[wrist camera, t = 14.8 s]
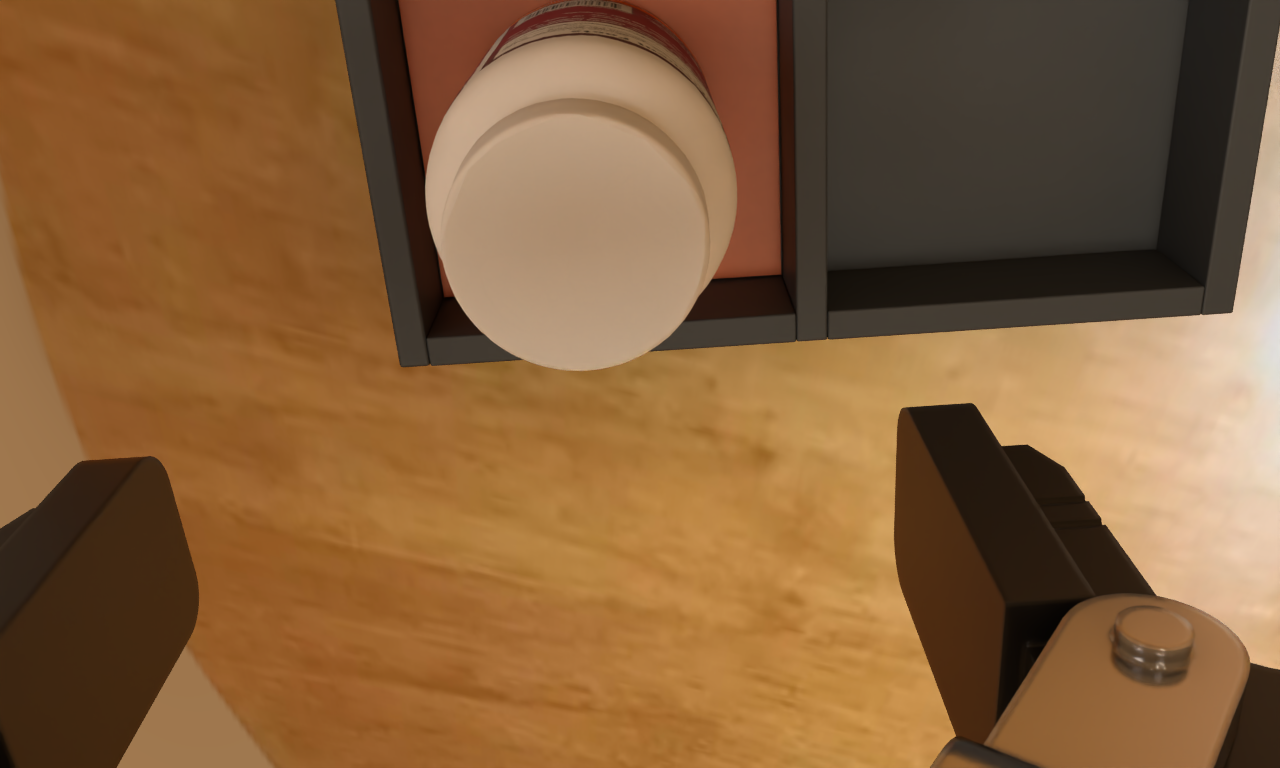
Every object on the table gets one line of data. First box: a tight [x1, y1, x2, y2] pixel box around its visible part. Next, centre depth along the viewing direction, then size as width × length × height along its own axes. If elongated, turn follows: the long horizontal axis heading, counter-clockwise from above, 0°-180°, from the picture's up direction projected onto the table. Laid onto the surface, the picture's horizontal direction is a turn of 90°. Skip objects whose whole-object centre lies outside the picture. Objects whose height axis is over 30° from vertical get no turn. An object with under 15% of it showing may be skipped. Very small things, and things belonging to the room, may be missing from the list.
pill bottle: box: [425, 0, 737, 371], centre depth 24 cm, size 6×6×11 cm
